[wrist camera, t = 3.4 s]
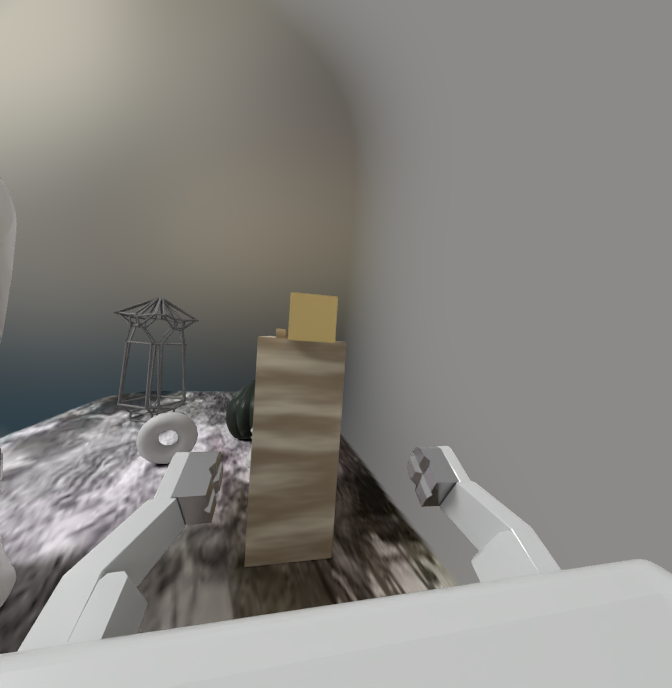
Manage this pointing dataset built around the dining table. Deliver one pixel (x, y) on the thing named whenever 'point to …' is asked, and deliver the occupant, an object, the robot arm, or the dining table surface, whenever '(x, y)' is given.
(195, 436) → the donut
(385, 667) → the robot arm
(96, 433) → the dining table surface
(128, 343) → the geometric lantern
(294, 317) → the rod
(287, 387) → the plinth
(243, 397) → the squash
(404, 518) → the dining table surface
